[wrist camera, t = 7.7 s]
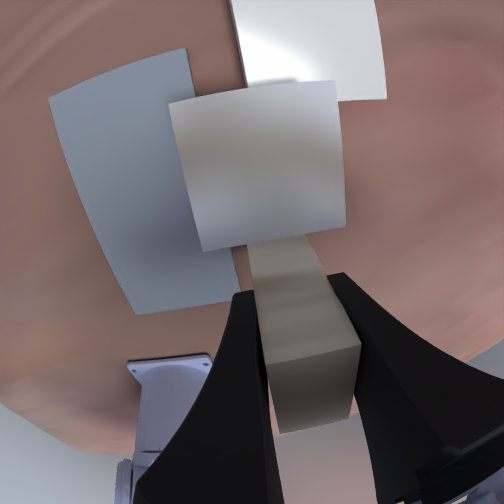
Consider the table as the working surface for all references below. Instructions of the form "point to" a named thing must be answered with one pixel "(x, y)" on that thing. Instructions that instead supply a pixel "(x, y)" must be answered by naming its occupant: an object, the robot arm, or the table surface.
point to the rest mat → (141, 184)
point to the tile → (311, 44)
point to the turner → (278, 229)
